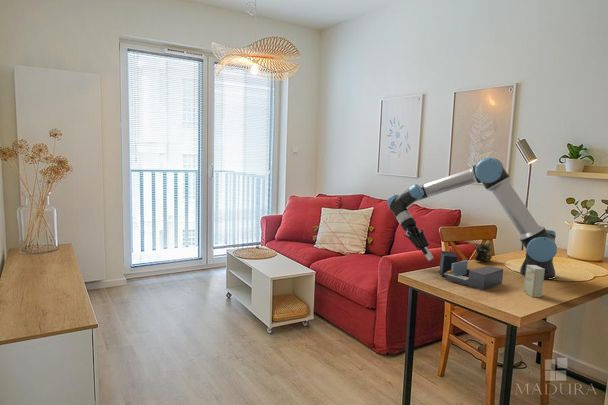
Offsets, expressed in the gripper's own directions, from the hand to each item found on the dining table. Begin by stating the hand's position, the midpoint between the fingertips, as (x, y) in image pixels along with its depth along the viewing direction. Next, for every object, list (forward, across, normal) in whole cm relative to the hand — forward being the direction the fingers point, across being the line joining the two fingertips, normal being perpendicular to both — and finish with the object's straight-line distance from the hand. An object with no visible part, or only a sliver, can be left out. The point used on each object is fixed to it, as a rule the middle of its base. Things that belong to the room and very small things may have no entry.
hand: (431, 259), depth 204 cm
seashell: (+7, -41, 0) cm, 41 cm away
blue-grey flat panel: (+14, +2, +8) cm, 16 cm away
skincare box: (+37, -5, +29) cm, 47 cm away
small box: (+11, 0, +3) cm, 11 cm away
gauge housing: (+20, 0, +12) cm, 23 cm away
